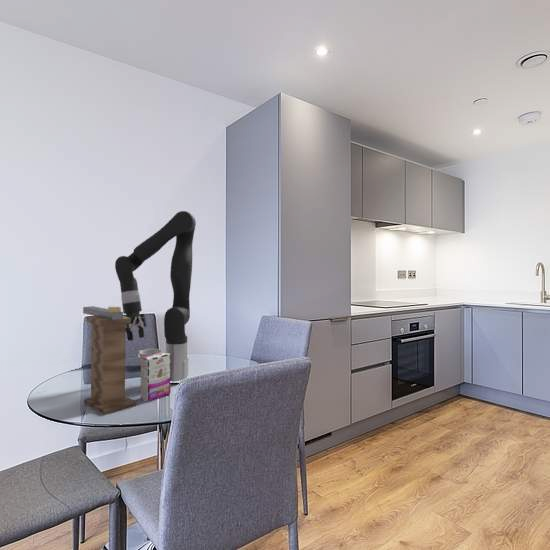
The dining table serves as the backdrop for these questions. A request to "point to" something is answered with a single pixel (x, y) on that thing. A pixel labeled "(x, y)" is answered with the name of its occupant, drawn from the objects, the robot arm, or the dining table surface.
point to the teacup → (147, 353)
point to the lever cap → (104, 312)
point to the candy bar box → (155, 376)
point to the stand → (108, 365)
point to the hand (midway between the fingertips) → (136, 338)
